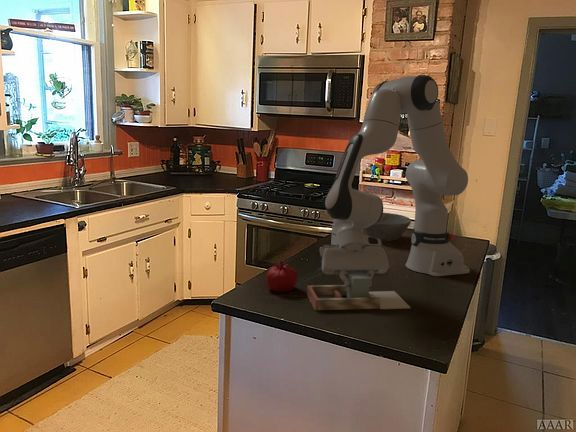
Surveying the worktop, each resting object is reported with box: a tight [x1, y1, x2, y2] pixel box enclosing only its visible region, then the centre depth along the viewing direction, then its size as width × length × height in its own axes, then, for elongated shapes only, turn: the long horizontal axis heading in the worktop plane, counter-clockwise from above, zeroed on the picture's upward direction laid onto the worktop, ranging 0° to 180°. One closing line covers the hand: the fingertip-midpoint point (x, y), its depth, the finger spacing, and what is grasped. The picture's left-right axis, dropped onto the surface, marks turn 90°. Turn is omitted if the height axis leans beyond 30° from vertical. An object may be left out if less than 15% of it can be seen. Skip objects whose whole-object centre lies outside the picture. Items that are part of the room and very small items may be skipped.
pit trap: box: [306, 284, 343, 311], centre depth 141 cm, size 9×11×3 cm
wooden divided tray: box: [311, 284, 381, 311], centre depth 142 cm, size 18×11×3 cm, turn 99°
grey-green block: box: [346, 273, 370, 298], centre depth 142 cm, size 5×5×8 cm
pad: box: [369, 290, 411, 310], centre depth 144 cm, size 9×12×1 cm
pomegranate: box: [265, 260, 299, 293], centre depth 149 cm, size 10×10×9 cm
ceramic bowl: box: [364, 212, 412, 243], centre depth 212 cm, size 22×23×10 cm
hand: (358, 286), depth 141 cm, fingers closed on grey-green block, 5 cm apart
